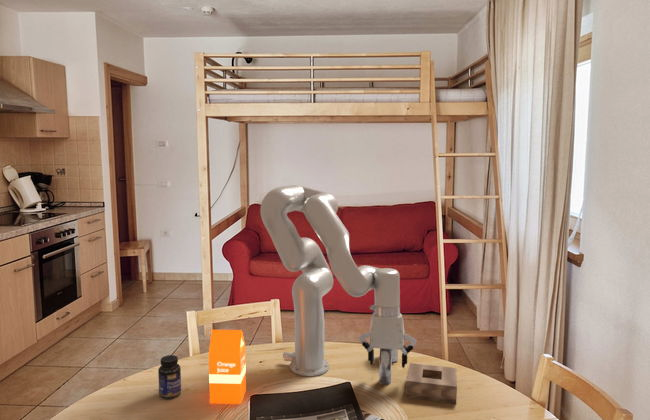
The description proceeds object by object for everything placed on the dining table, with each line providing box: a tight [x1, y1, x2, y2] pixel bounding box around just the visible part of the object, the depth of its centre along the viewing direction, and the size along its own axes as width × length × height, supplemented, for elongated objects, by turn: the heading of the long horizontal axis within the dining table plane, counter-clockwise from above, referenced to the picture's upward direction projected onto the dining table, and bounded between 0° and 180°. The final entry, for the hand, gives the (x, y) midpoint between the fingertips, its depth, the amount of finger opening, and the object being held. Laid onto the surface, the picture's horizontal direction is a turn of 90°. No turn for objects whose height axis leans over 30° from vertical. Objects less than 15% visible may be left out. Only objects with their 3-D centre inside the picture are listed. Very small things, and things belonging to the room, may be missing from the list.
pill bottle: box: [157, 354, 182, 400], centre depth 141 cm, size 6×6×11 cm
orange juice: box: [208, 329, 247, 405], centre depth 139 cm, size 8×9×20 cm
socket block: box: [405, 362, 458, 405], centre depth 145 cm, size 14×12×5 cm
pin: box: [378, 348, 393, 385], centre depth 150 cm, size 4×4×11 cm
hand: (387, 364), depth 149 cm, fingers open, 9 cm apart
